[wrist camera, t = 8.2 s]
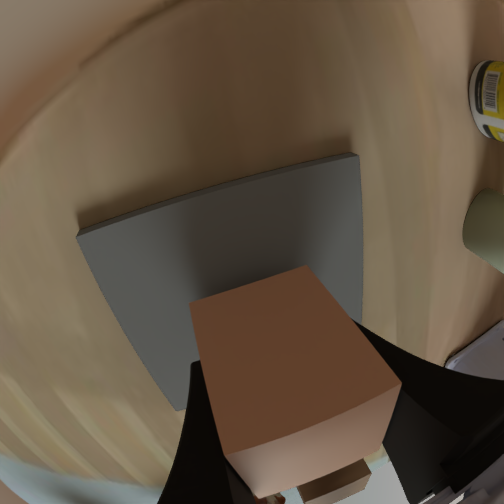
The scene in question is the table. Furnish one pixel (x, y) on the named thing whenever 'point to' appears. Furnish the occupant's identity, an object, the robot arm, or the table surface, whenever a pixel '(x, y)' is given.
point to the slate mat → (225, 254)
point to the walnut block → (336, 484)
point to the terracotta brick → (290, 381)
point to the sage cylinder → (486, 228)
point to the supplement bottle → (488, 98)
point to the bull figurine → (270, 499)
